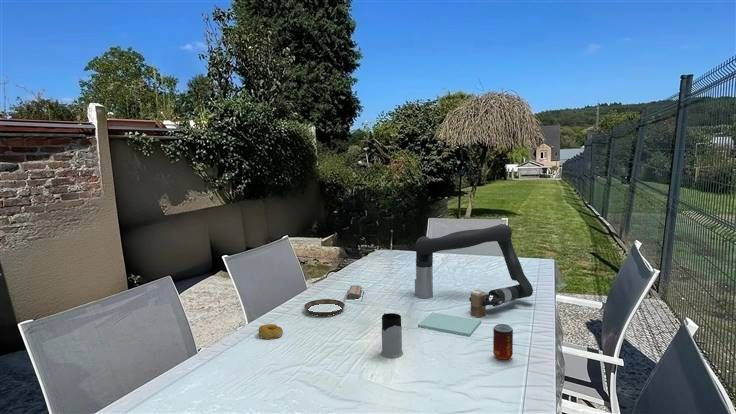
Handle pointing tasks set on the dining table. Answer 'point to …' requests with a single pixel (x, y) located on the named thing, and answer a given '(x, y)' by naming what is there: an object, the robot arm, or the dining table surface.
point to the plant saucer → (324, 301)
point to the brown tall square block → (478, 303)
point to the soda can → (503, 342)
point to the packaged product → (353, 293)
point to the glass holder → (391, 336)
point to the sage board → (450, 324)
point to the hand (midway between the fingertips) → (476, 301)
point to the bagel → (270, 331)
